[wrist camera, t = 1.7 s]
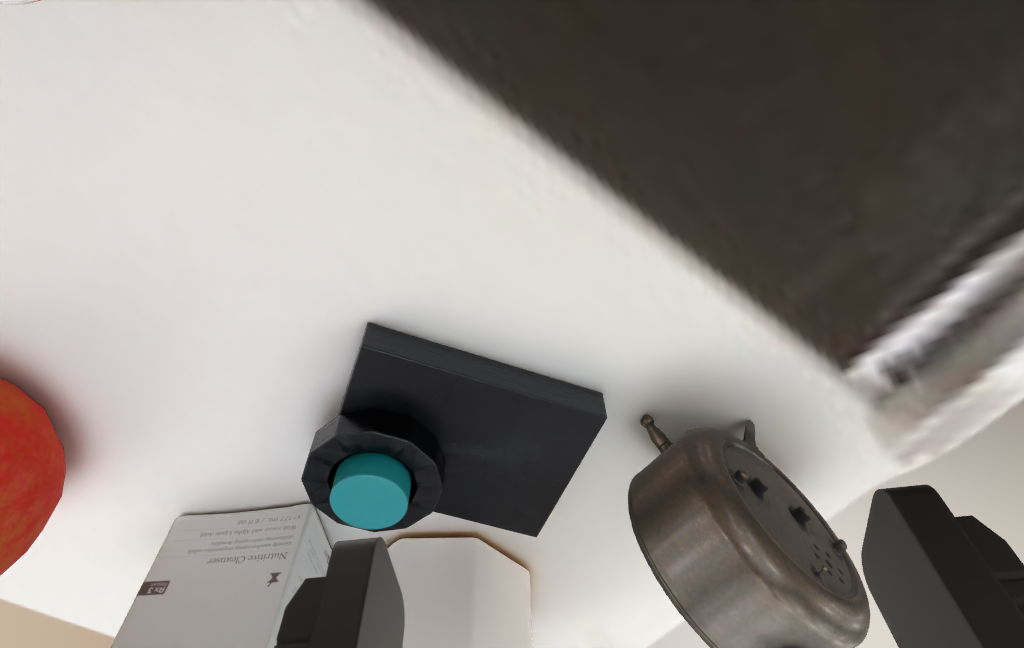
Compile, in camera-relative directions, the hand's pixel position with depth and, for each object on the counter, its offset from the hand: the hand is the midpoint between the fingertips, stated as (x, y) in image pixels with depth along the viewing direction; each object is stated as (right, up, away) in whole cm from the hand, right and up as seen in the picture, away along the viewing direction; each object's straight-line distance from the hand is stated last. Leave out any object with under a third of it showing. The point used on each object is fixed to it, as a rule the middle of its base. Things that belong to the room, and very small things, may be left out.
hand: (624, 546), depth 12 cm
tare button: (-9, -4, +22) cm, 24 cm away
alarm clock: (+9, -3, +26) cm, 27 cm away
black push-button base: (-5, -2, +25) cm, 25 cm away
